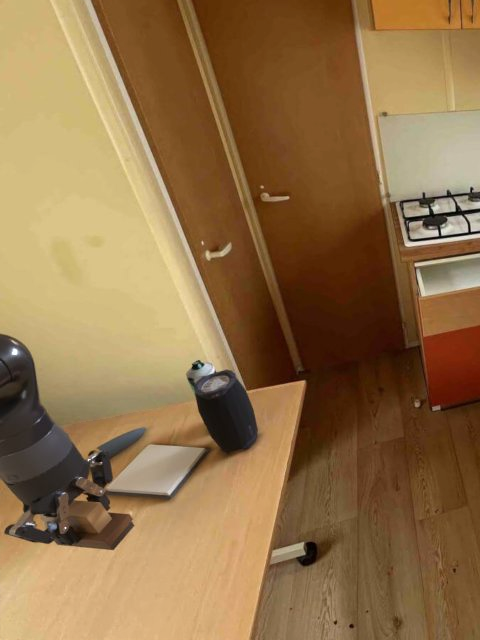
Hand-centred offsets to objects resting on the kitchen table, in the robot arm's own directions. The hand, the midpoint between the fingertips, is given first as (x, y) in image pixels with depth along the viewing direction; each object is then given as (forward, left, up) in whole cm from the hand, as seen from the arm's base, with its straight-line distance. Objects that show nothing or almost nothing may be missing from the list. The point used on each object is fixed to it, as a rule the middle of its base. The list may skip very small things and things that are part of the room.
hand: (89, 525), depth 70 cm
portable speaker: (+2, +29, -16) cm, 33 cm away
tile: (-11, +20, -15) cm, 28 cm away
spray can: (-6, +34, -16) cm, 38 cm away
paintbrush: (-27, +21, -16) cm, 38 cm away
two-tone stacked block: (0, 0, -3) cm, 3 cm away
